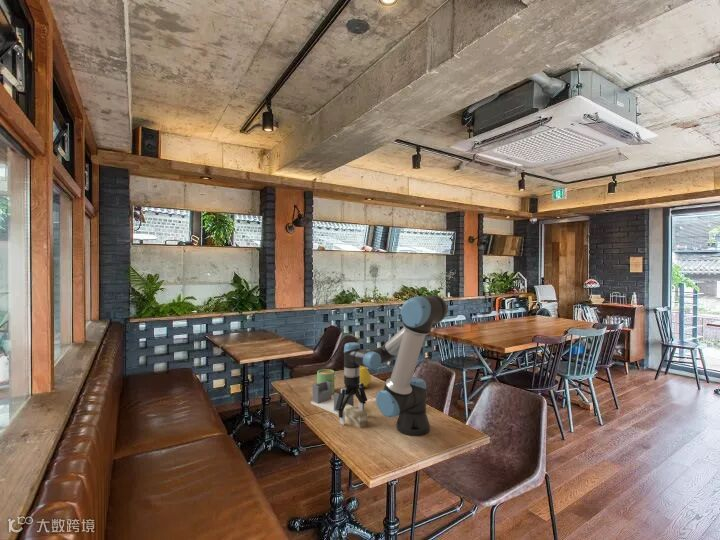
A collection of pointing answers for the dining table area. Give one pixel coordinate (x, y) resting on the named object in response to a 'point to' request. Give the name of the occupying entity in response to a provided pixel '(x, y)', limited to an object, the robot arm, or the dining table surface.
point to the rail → (355, 416)
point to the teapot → (364, 376)
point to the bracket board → (327, 397)
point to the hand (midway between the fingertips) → (351, 420)
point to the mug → (326, 377)
